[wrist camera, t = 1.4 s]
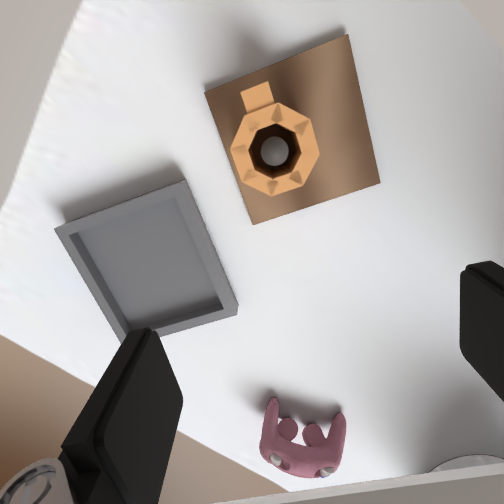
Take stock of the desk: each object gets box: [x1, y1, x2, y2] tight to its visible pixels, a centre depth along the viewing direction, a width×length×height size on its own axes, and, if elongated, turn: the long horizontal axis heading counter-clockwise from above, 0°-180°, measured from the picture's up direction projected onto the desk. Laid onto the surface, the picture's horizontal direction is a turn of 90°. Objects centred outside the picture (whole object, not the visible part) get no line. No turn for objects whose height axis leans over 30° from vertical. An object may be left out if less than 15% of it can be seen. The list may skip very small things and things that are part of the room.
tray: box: [54, 179, 238, 344], centre depth 33 cm, size 13×14×2 cm
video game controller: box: [259, 397, 346, 478], centre depth 38 cm, size 10×5×7 cm, turn 75°
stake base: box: [204, 34, 380, 225], centre depth 26 cm, size 12×12×6 cm
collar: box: [230, 81, 320, 197], centre depth 26 cm, size 6×8×5 cm
